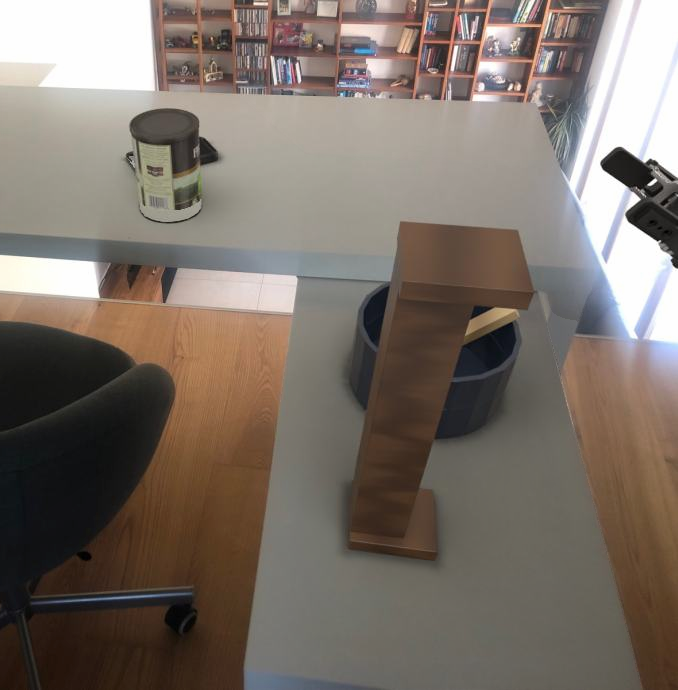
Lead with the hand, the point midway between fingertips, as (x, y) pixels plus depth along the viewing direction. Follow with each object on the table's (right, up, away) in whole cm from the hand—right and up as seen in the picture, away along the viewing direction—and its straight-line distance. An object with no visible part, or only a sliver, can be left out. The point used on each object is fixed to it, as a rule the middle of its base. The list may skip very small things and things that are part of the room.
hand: (621, 180), depth 57 cm
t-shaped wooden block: (-7, -14, +22) cm, 27 cm away
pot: (-9, -18, +24) cm, 32 cm away
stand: (-17, -31, +10) cm, 37 cm away
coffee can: (-41, +9, +54) cm, 68 cm away
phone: (-42, +19, +65) cm, 79 cm away
